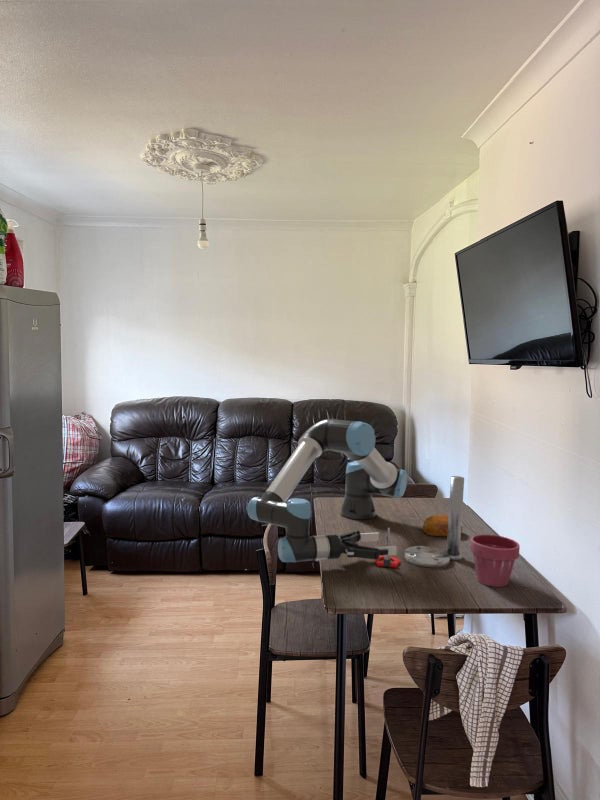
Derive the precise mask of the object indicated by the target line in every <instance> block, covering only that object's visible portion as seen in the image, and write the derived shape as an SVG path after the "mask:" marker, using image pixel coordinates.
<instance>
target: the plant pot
mask: <svg viewBox="0 0 600 800" xmlns="http://www.w3.org/2000/svg"><path fill="white" fill-rule="evenodd" d="M520 546H521V545H520V544H519V542H518V541H515V540H514V539H512V538H509V537H504V536H503V535H502V536H501V535H495V534H485V533H484V534H477V535H476V534H475V535H473V536H472V537H471V538H470V547H469V548H470V549H469V550H470V552H471V553H473V561H474V568H475V569H474V570H475V572H476V579H477V581H478V582H479V583H480V584H483V585H485V586H489V587H492V588H493V587H494V588H503V587H506V586H508V584H509V580H510V577H511V575H512V572H513V569H514V566H515V562H516V560H518V558H519V557H520Z"/></svg>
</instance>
